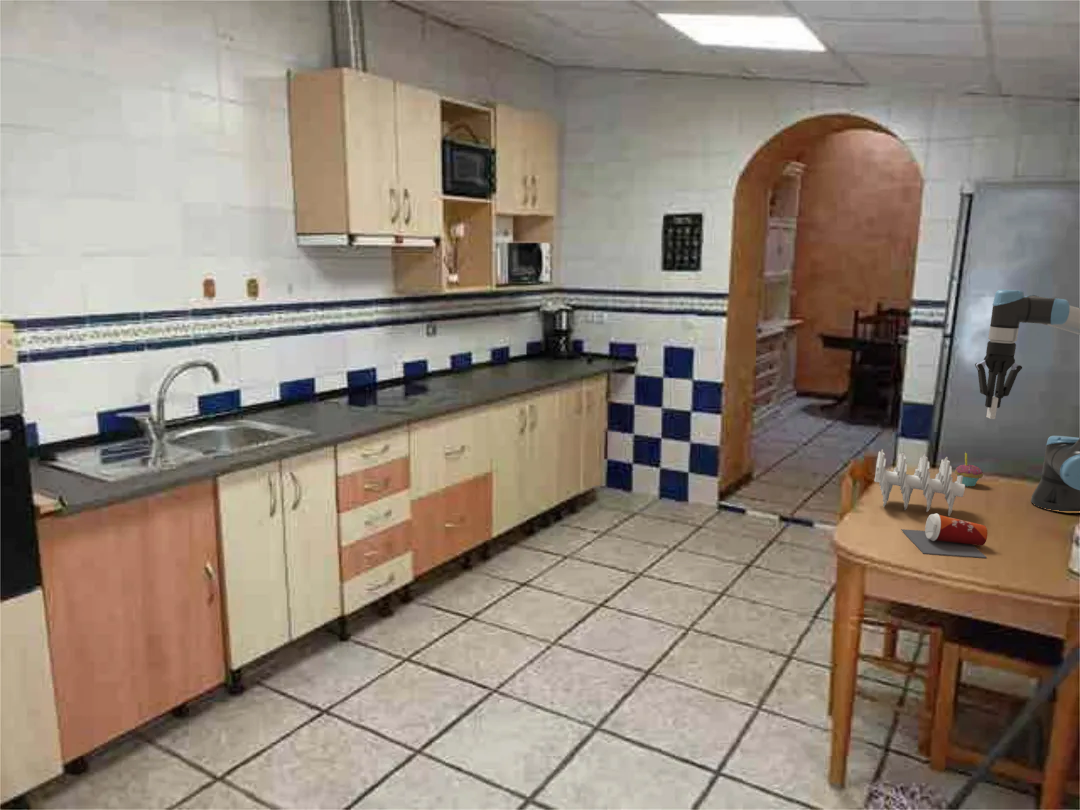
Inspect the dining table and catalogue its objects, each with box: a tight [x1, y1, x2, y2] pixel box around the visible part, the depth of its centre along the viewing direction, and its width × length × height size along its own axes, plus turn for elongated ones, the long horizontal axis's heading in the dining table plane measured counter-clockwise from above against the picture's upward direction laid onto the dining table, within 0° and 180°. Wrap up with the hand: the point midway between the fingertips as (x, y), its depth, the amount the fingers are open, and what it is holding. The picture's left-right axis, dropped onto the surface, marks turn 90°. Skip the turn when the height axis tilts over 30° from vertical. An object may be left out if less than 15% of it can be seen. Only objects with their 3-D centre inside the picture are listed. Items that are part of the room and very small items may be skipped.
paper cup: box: [924, 513, 989, 546], centre depth 220 cm, size 8×8×14 cm
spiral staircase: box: [874, 448, 966, 517], centre depth 247 cm, size 18×18×25 cm
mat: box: [900, 528, 987, 559], centre depth 220 cm, size 16×18×1 cm
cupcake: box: [954, 450, 984, 487], centre depth 276 cm, size 9×8×12 cm
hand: (990, 417), depth 245 cm, fingers closed
